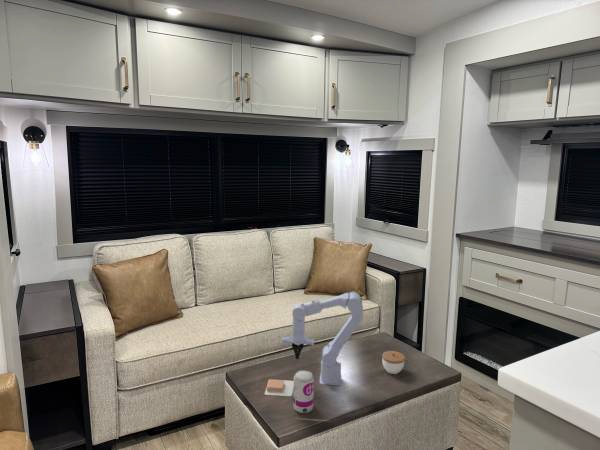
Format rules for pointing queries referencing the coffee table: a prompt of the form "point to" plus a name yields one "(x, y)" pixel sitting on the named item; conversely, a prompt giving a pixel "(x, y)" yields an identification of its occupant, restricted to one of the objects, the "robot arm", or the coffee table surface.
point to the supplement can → (303, 391)
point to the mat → (286, 390)
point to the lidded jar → (393, 361)
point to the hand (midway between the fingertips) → (297, 358)
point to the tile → (275, 385)
